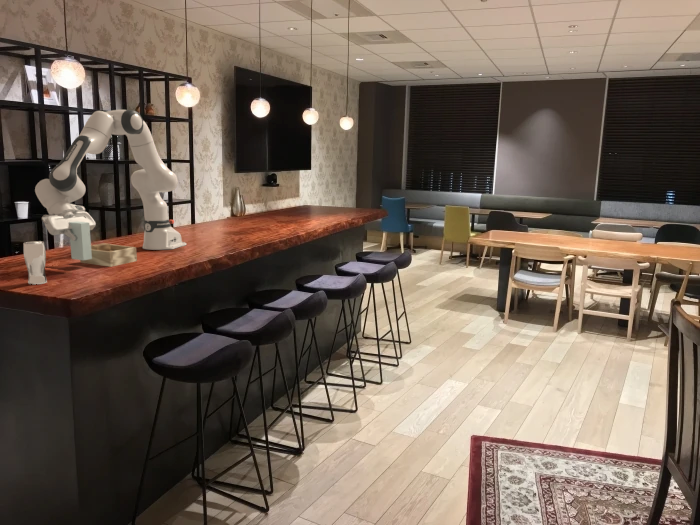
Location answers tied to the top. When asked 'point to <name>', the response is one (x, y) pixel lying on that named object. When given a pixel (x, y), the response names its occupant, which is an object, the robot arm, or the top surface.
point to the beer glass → (35, 261)
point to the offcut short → (101, 247)
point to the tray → (113, 256)
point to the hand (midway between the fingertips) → (81, 238)
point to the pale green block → (81, 241)
